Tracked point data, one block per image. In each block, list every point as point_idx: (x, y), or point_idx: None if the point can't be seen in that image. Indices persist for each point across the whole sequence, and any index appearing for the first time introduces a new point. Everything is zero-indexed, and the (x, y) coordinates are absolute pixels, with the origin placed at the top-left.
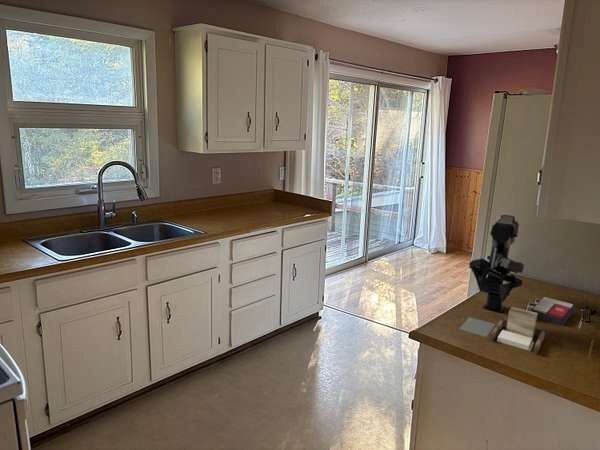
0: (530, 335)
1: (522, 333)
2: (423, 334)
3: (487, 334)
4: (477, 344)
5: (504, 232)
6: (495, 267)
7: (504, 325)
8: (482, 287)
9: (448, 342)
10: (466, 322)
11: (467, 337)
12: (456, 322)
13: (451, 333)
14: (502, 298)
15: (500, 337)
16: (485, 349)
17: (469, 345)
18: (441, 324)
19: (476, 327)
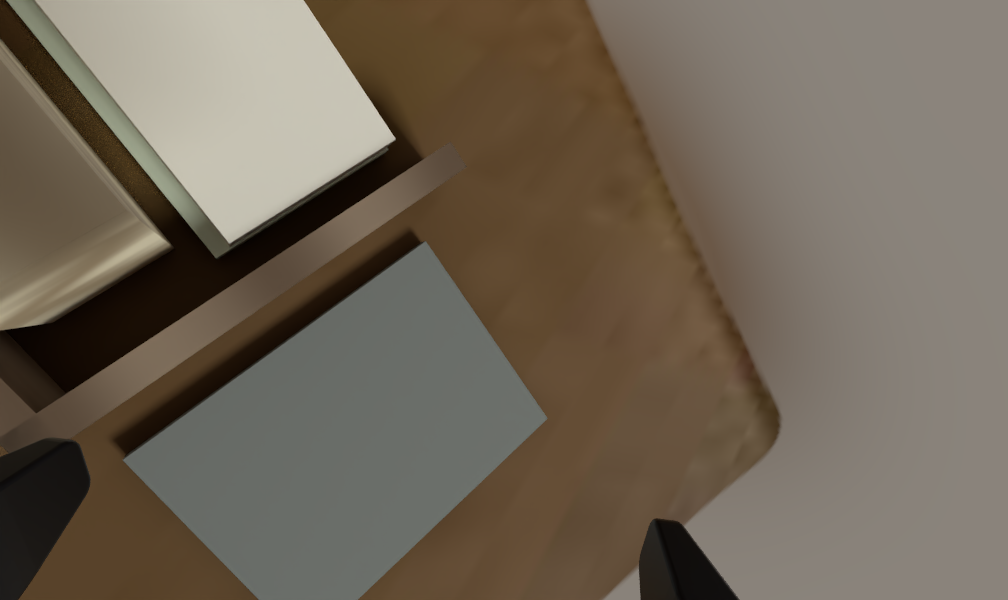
0: None
1: (37, 86)
2: (759, 405)
3: (383, 276)
4: (540, 188)
5: None
6: None
7: (47, 387)
8: (720, 575)
9: (689, 274)
10: (415, 528)
11: (543, 301)
12: (471, 560)
13: (610, 384)
14: (24, 510)
15: (376, 120)
16: (533, 109)
17: (598, 196)
18: (598, 532)
19: (390, 419)
